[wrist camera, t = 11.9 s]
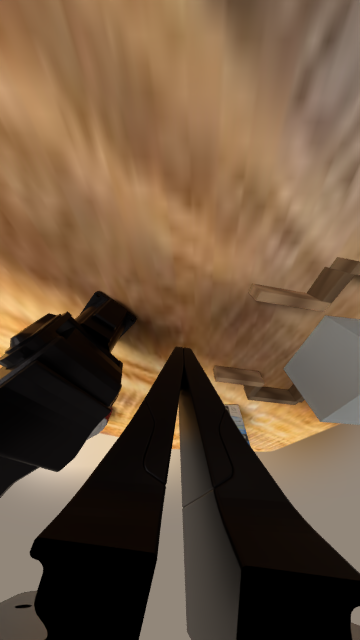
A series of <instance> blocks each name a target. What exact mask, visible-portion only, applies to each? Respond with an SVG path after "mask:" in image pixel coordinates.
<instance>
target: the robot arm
mask: <svg viewBox="0 0 360 640" xmlns="http://www.w3.org/2000/svg"><path fill="white" fill-rule="evenodd" d="M98 294H99V295H100V296H98ZM71 316H72V315H71V314H70V313H69V312H66V313H64V314H62V315H61V314H59V315H53V314H47V315H45V316H44V317H42V318H40V319H39V320H37V321H36V322H34V323H33V324H31V325H30V326H28V327H27V328H25V329H24V330H22V331H21V332H19V333H18V334H16V335H15V336H13V337H12V338H11V341H10V348H8V349H7V350H6V351H5V354H4V355H3V356H2V357H1V358H0V365H2V366H3V367H2V368H0V498H1V497H2V496H3V494H4V493H5V492H6V491H7V490H8V489H9V488H10V487H11V486H12V485H13V484H14V483H15V482H16V481H18V480H20V479H21V478H23V477H25V476H26V475H28V474H30V473H31V472H33V471H34V470H36V469H38V468H39V467H41V468H44V469H48V470H52V471H55V472H58V471H60V470H61V469H63V468H64V467H65V466H66V465H67V464H68V463H69V462H70V461H72V460H73V459H74V458H75V456H76V455H77V454H78V452H79V451H80V449H81V448H82V446H83V444H84V443H85V441H86V440H87V438H88V437H89V436H90V434H91V433H92V431H93V430H94V429H95V428H96V427H97V425H98V424H99V423H100V422H101V421H102V420H103V419H104V418H105V417H106V416H107V415H108V414H109V413H110V412H111V409H110V407H111V406H112V405H113V403H114V402H115V401H116V399H117V397H118V395H119V392H120V390H121V387H122V385H121V378H122V367H123V363H122V362H121V361H119V360H118V359H117V358H115V357H114V356H113V355H112V354H111V351H112V350H113V348H114V346H115V345H116V343H117V341H118V339H119V338H120V337H121V336H122V335H123V334H124V333H125V332H126V331H127V330H128V329H129V328H130V327H131V326H132V325H133V324H134V323H135V322H136V320H137V318H136V317H135V316H134V315H132V314H131V313H129V312H128V311H127V310H126V309H124V308H123V307H122V306H120V305H119V304H117V303H116V302H115V301H113V300H112V299H110V298H109V297H107V296H106V295H105V294H103V293H102V292H100V291H97V292H95V293H94V295H93V296H92V298H91V299H90V301H89V302H88V303H87V305H86V306H85V308H84V309H83V311H82V312H81V314H80V315H79V316H78V317H77V318H75V319H74V318H72V317H71ZM132 319H134V320H132ZM178 403H179V429H180V454H181V455H180V456H181V483H182V507H183V509H182V511H183V538H184V564H185V590H186V616H187V632H188V634H189V636H190V638H191V640H360V626H359V625H356V624H354V623H351V612H352V611H353V609H354V608H356V607H358V606H360V573H359V572H358V571H357V570H356V569H354V567H353V566H352V565H350V564H349V563H348V562H347V561H346V560H345V559H344V558H343V557H342V556H341V555H340V554H339V553H338V552H337V551H336V550H335V549H334V548H333V547H332V546H331V545H330V544H329V543H327V542H326V541H325V540H324V539H323V538H322V537H321V536H320V535H319V534H318V533H317V532H316V531H315V530H314V529H313V528H312V527H311V526H310V525H309V524H308V523H307V522H306V521H305V520H304V518H303V517H302V516H301V515H300V514H299V512H298V511H297V510H296V509H295V508H294V507H293V505H292V504H291V503H290V502H289V500H288V499H287V497H286V496H285V495H284V493H283V492H282V490H281V489H280V488H279V486H278V485H277V483H276V482H275V481H274V479H273V478H272V476H271V475H270V473H269V472H268V471H267V469H266V468H265V467H264V465H263V464H262V462H261V461H260V459H259V458H258V456H257V455H256V454H255V452H254V451H253V449H252V448H251V446H250V445H249V444H248V442H247V441H246V439H245V438H244V436H243V435H242V433H241V432H240V430H239V429H238V427H237V425H236V424H235V422H234V420H233V419H232V417H231V416H230V414H229V412H228V410H227V409H226V407H225V405H224V404H223V402H222V400H221V399H220V397H219V395H218V394H217V392H216V390H215V389H214V387H213V385H212V384H211V382H210V380H209V378H208V377H207V375H206V373H205V372H204V370H203V368H202V367H201V365H200V363H199V362H198V360H197V358H196V357H195V355H194V353H193V351H192V350H191V349H190V348H182V347H175V348H174V350H173V352H172V353H171V355H170V357H169V358H168V360H167V362H166V364H165V365H164V367H163V369H162V370H161V372H160V374H159V375H158V377H157V379H156V380H155V382H154V384H153V385H152V387H151V389H150V390H149V392H148V394H147V395H146V397H145V399H144V400H143V402H142V404H141V405H140V407H139V409H138V410H137V412H136V413H135V415H134V417H133V418H132V420H131V421H130V423H129V424H128V426H127V427H126V428H125V430H124V431H123V433H122V434H121V435H120V437H119V438H118V439H117V441H116V442H115V444H114V445H113V446H112V448H111V449H110V450H109V451H108V453H107V454H106V455H105V457H104V458H103V459H102V461H101V462H100V463H99V465H98V466H97V467H96V469H95V470H94V471H93V473H92V474H91V476H90V477H89V478H88V479H87V481H86V482H85V483H84V485H83V486H82V487H81V488H80V490H79V491H78V492H77V493H76V494H75V496H74V497H73V498H72V499H71V501H70V502H69V503H68V504H67V505H66V506H65V508H64V509H63V510H62V511H61V512H60V513H59V515H58V516H57V517H56V518H55V519H54V520H53V521H52V522H51V523H50V524H49V525H48V526H47V527H46V529H44V530H43V531H42V533H41V534H40V535H39V536H38V537H37V538H36V539H35V540H34V543H33V545H32V548H31V550H30V556H31V557H32V558H34V559H36V560H39V561H40V562H41V564H42V566H43V574H42V577H41V581H40V584H39V587H38V590H37V591H30V592H24V593H21V594H18V595H16V596H13V597H11V598H9V599H7V600H5V601H3V602H1V603H0V640H139V636H140V632H141V627H142V623H143V618H144V614H145V610H146V605H147V601H148V596H149V592H150V588H151V583H152V579H153V574H154V570H155V566H156V561H157V554H158V545H159V535H160V527H161V519H162V511H163V503H164V496H165V489H166V486H165V485H166V483H167V476H168V469H169V463H170V456H171V449H172V443H173V436H174V429H175V423H176V416H177V409H178Z"/></svg>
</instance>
